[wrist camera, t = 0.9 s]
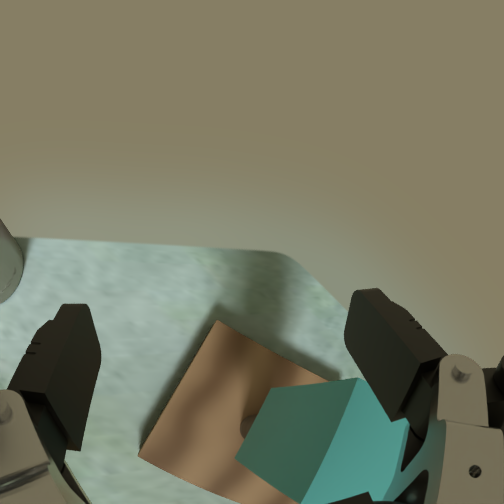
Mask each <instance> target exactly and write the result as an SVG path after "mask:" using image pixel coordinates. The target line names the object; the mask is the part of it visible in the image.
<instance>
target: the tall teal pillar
mask: <svg viewBox="0 0 504 504" xmlns="http://www.w3.org/2000/svg"><path fill="white" fill-rule="evenodd" d="M407 424H408V421H407V419H406V418H403V419H400V420H397V421H394V422H391V421H390V419H389V418H388V416H387V414H386V413H385V411H384V409H383V408H382V406H381V404H380V403H379V401H378V399H377V398H376V396H375V394H374V392H373V391H372V389H371V387H370V386H369V384H368V383H367V382H366V381H364V380H362V379H360V378H351V379H345V380H338V381H331V382H324V383H316V384H307V385H298V386H288V387H276V388H271V389H270V391H269V393H268V395H267V397H266V399H265V401H264V403H263V405H262V407H261V409H260V411H259V413H258V415H257V417H256V419H255V421H254V423H253V424H252V426H251V428H250V430H249V432H248V434H247V436H246V438H245V439H244V441H243V443H242V445H241V447H240V449H239V450H238V452H237V454H236V456H235V458H234V459H236V460H237V461H238V462H240V463H241V464H242V465H244V466H245V467H246V468H248V469H249V470H250V471H252V472H253V473H254V474H256V475H257V476H259V477H260V478H261V479H263V480H264V481H266V482H267V483H268V484H270V485H271V486H273V487H274V488H276V489H277V490H279V491H280V492H282V493H283V494H285V495H286V496H288V497H289V498H291V499H292V500H294V501H296V502H297V503H299V504H328V503H331V502H335V501H339V500H342V499H346V498H349V497H352V496H355V495H359V494H362V493H365V492H368V491H369V494H370V496H371V498H372V500H373V501H382V500H383V498H384V495H385V493H386V492H387V490H388V488H389V486H390V484H391V482H392V480H393V477H394V474H395V470H396V466H397V462H398V458H399V453H400V449H401V444H402V440H403V435H404V430H405V427H406V425H407Z"/></svg>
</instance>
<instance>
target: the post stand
mask: <svg viewBox="0 0 504 504" xmlns="http://www.w3.org/2000/svg"><path fill="white" fill-rule="evenodd" d="M324 382H329V381H327V380H325V379H323V378H321V377H319V376H318V375H316V374H314V373H312V372H310V371H308V370H306V369H304V368H302V367H300V366H298V365H296V364H295V363H293V362H291V361H289V360H287V359H285V358H283V357H282V356H280V355H278V354H276V353H274V352H272V351H271V350H269V349H267V348H265V347H263V346H262V345H260V344H258V343H256V342H255V341H253V340H251V339H249V338H247V337H246V336H244V335H242V334H241V333H239V332H237V331H235V330H234V329H232V328H230V327H228V326H227V325H225V324H223V323H222V322H220V321H218V320H217V321H216V322H215V323H214V324H213V325H212V327H211V329H210V331H209V332H208V334H207V336H206V337H205V339H204V341H203V343H202V344H201V346H200V348H199V349H198V351H197V353H196V355H195V356H194V358H193V360H192V361H191V363H190V365H189V367H188V368H187V370H186V372H185V373H184V375H183V377H182V379H181V380H180V382H179V384H178V385H177V387H176V389H175V391H174V392H173V394H172V396H171V397H170V399H169V401H168V403H167V404H166V406H165V408H164V409H163V411H162V413H161V414H160V416H159V418H158V420H157V421H156V423H155V425H154V426H153V428H152V430H151V432H150V433H149V435H148V437H147V438H146V440H145V442H144V443H143V445H142V447H141V449H140V450H139V453H138V457H140V458H142V459H144V460H145V461H147V462H149V463H151V464H153V465H155V466H156V467H158V468H160V469H162V470H164V471H166V472H168V473H170V474H172V475H174V476H176V477H178V478H180V479H183V480H185V481H187V482H189V483H191V484H194V485H196V486H198V487H200V488H203V489H205V490H207V491H210V492H212V493H215V494H217V495H220V496H222V497H225V498H227V499H230V500H233V501H235V502H238V503H241V504H299V503H297V502H296V501H294V500H292V499H291V498H289V497H288V496H286V495H285V494H283V493H282V492H280V491H279V490H277V489H276V488H274V487H273V486H271V485H270V484H268V483H267V482H266V481H264V480H263V479H261V478H260V477H259V476H257V475H256V474H254V473H253V472H252V471H250V470H249V469H248V468H246V467H245V466H244V465H242V464H241V463H240V462H238V461H237V460H236V459H234V458H235V456H236V454H237V452H238V450H239V449H240V447H241V445H242V443H243V441H244V439H245V438H246V436H247V434H248V432H249V430H250V428H251V426H252V424H253V423H254V421H255V419H256V417H257V415H258V413H259V411H260V409H261V407H262V405H263V403H264V401H265V399H266V397H267V395H268V393H269V391H270V389H271V388H276V387H288V386H298V385H307V384H316V383H324Z"/></svg>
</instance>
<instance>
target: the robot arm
mask: <svg viewBox="0 0 504 504" xmlns="http://www.w3.org/2000/svg"><path fill="white" fill-rule="evenodd" d="M22 271H23V256H22V252H21V249H20V247H19V245H18V244H17V242H16V241H15V239H14V238H13V237H12V235H11V234H10V232H9V231H8V229H7V228H6V226H5V225H4V223H3V222H2V220H1V219H0V303H2V302H4V301H5V300H7V299H8V298H9V297H10V296H11V295H12V293H13V292H14V291H15V289H16V288H17V286H18V284H19V281H20V279H21V276H22ZM344 341H345V345H346V348H347V350H348V351H349V353H350V355H351V356H352V358H353V359H354V361H355V363H356V364H357V366H358V368H359V369H360V371H361V373H362V374H363V376H364V378H365V379H366V381H367V383H368V384H369V386H370V387H371V389H372V391H373V392H374V394H375V396H376V398H377V399H378V401H379V403H380V404H381V406H382V408H383V409H384V411H385V413H386V414H387V416H388V418H389V419H390V421H391V422H394V421H397V420H400V419H403V418H406V419H407V421H408V424H407V425H406V427H405V430H404V435H403V440H402V444H401V449H400V453H399V458H398V462H397V466H396V470H395V474H394V477H393V480H392V482H391V484H390V486H389V488H388V490H387V492H386V493H385V495H384V498H383V500H382V501H373V500H372V498H371V496H370V494H369V491H368V492H365V493H362V494H359V495H355V496H352V497H349V498H346V499H342V500H339V501H335V502H331V503H328V504H504V356H503V357H502V359H501V361H500V363H499V364H498V366H497V368H484V369H481V367H480V366H479V365H478V364H477V363H476V362H475V361H474V360H472V359H471V358H469V357H466V356H463V355H458V354H451V355H448V354H447V353H446V352H445V351H444V350H443V349H442V348H441V347H440V345H439V344H438V343H437V342H436V341H435V340H434V339H433V338H432V337H431V336H430V334H429V333H428V332H427V331H426V330H425V329H422V326H421V325H420V324H419V323H418V322H417V321H415V319H414V318H413V316H412V315H411V314H410V313H409V312H408V311H407V310H406V309H404V308H403V307H401V306H399V305H397V304H396V303H394V302H391V301H390V299H389V298H388V297H387V296H386V295H385V294H384V293H383V292H382V291H381V290H380V289H378V288H372V289H363V290H356V291H354V293H353V295H352V298H351V303H350V307H349V312H348V316H347V321H346V325H345V330H344ZM100 365H101V348H100V344H99V340H98V337H97V334H96V330H95V327H94V323H93V319H92V316H91V312H90V309H89V307H88V305H87V304H63V305H62V306H61V307H60V309H59V311H58V312H57V314H56V316H55V318H54V320H48V321H47V322H46V323H45V324H44V325H43V326H42V327H40V328H39V329H38V330H37V332H36V333H35V335H34V337H33V339H32V341H31V344H29V346H28V348H27V350H26V354H24V356H23V357H22V359H21V361H20V363H19V365H18V367H17V369H16V371H15V373H14V375H13V377H12V379H11V381H10V384H9V386H8V388H7V390H0V504H92V503H91V501H90V500H89V498H88V497H87V495H86V494H85V492H84V491H83V489H82V487H81V486H80V484H79V483H78V481H77V479H76V478H75V476H74V474H73V473H72V471H71V469H70V467H69V466H68V464H67V462H66V461H65V460H64V459H65V454H66V449H67V450H74V451H81V446H82V441H83V436H84V431H85V426H86V422H87V417H88V413H89V408H90V404H91V400H92V396H93V392H94V388H95V384H96V380H97V376H98V372H99V369H100Z"/></svg>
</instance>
